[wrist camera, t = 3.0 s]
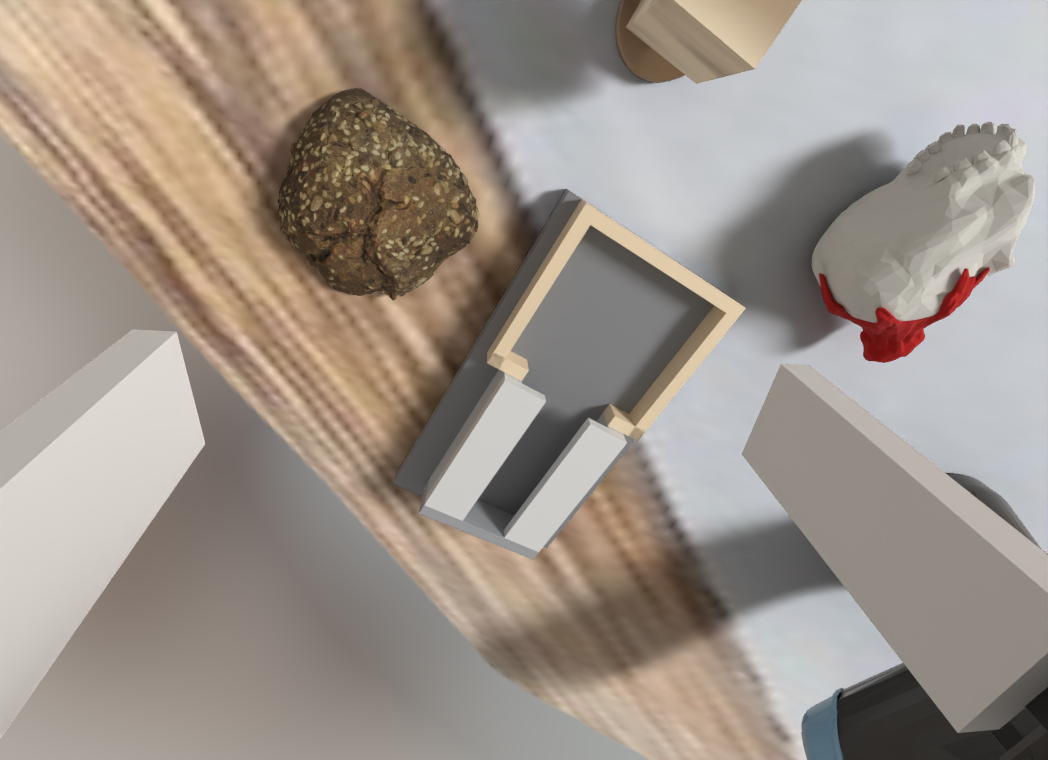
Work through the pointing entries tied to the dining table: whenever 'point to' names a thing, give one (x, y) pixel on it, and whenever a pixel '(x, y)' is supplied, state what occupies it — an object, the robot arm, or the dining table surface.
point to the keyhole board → (562, 380)
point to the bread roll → (373, 198)
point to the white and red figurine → (926, 238)
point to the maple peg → (697, 36)
